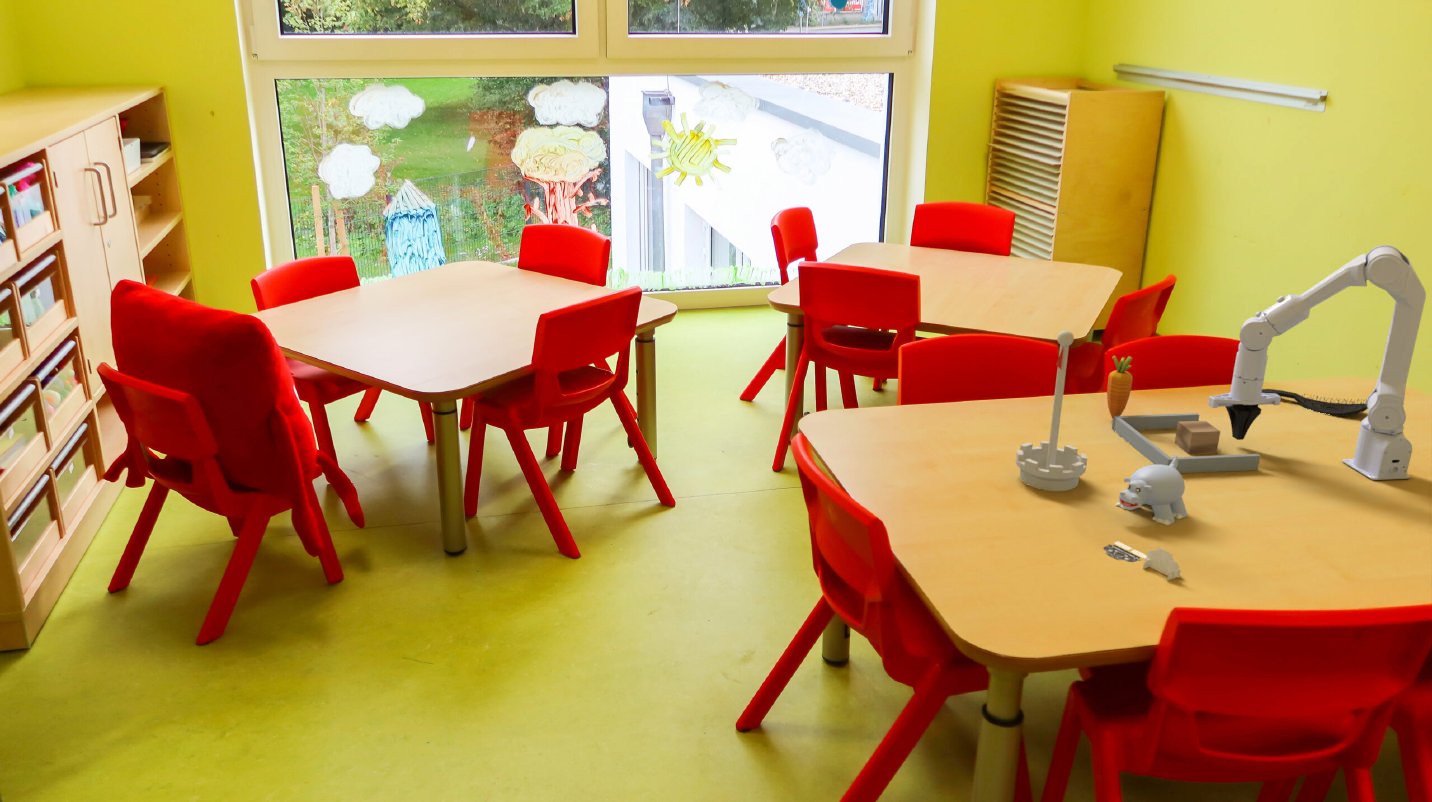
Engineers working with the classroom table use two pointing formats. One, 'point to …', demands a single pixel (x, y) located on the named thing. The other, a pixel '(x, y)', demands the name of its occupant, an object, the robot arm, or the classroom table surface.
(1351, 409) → the hairbrush
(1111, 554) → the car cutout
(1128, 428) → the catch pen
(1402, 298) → the robot arm
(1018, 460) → the flag stand
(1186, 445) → the walnut block
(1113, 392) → the carrot
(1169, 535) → the classroom table surface
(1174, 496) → the hippopotamus toy
